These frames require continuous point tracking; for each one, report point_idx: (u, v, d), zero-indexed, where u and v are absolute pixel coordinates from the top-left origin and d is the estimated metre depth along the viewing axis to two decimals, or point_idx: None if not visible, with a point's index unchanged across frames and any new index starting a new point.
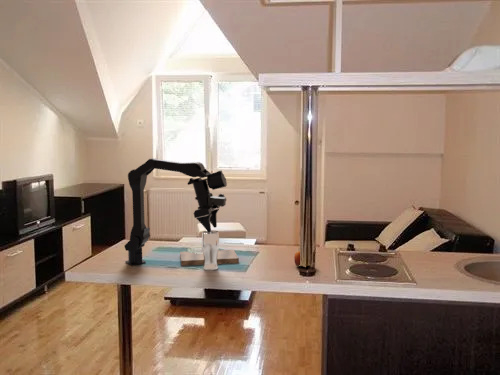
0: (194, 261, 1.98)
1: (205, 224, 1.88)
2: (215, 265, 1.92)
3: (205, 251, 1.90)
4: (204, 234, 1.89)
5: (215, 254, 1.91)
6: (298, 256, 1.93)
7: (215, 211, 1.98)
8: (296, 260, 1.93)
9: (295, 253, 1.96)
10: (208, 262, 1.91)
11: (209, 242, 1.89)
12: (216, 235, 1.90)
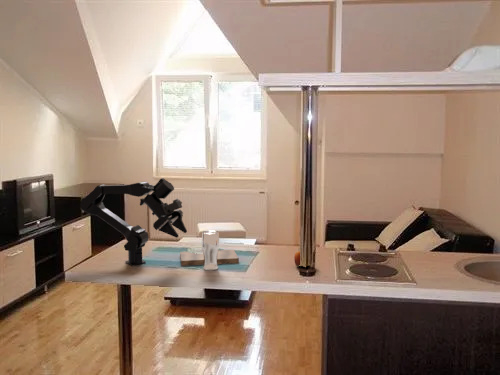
0: (194, 261, 1.98)
1: (170, 232, 1.90)
2: (215, 265, 1.92)
3: (205, 251, 1.90)
4: (204, 234, 1.89)
5: (215, 254, 1.91)
6: (298, 256, 1.93)
7: (179, 218, 2.00)
8: (296, 260, 1.93)
9: (295, 253, 1.96)
10: (208, 262, 1.91)
11: (209, 242, 1.89)
12: (216, 235, 1.90)
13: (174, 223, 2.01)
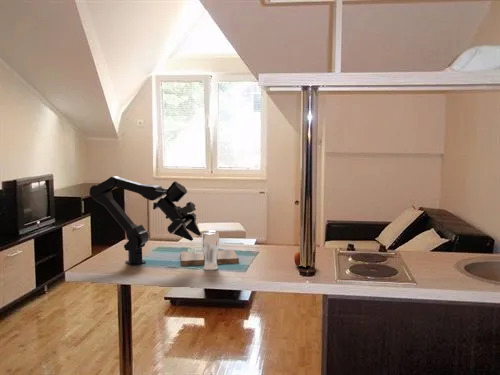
0: (194, 261, 1.98)
1: (184, 235, 1.88)
2: (215, 265, 1.92)
3: (205, 251, 1.90)
4: (204, 234, 1.89)
5: (215, 254, 1.91)
6: (298, 256, 1.93)
7: (192, 221, 1.98)
8: (296, 260, 1.93)
9: (295, 253, 1.96)
10: (208, 262, 1.91)
11: (209, 242, 1.89)
12: (216, 235, 1.90)
13: (188, 226, 1.99)
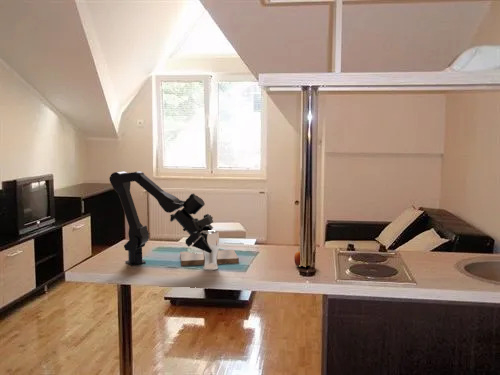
0: (194, 261, 1.98)
1: (203, 247, 1.88)
2: (215, 265, 1.92)
3: (205, 251, 1.90)
4: (204, 234, 1.89)
5: (215, 254, 1.91)
6: (298, 256, 1.93)
7: None
8: (296, 260, 1.93)
9: (295, 253, 1.96)
10: (208, 262, 1.91)
11: (209, 242, 1.89)
12: (216, 235, 1.90)
13: None
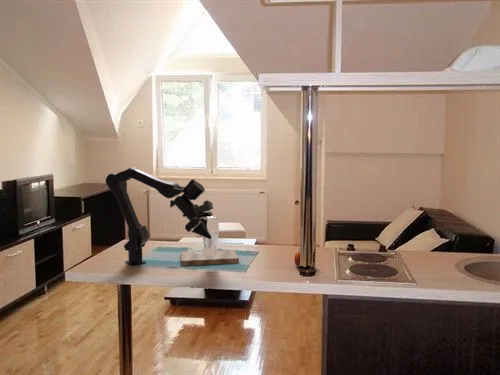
0: (194, 261, 1.98)
1: (203, 233, 1.88)
2: (215, 251, 1.91)
3: (205, 237, 1.89)
4: (204, 220, 1.89)
5: (215, 240, 1.90)
6: (298, 256, 1.93)
7: None
8: (296, 260, 1.93)
9: (295, 253, 1.96)
10: (208, 248, 1.90)
11: (208, 228, 1.88)
12: (216, 221, 1.89)
13: None
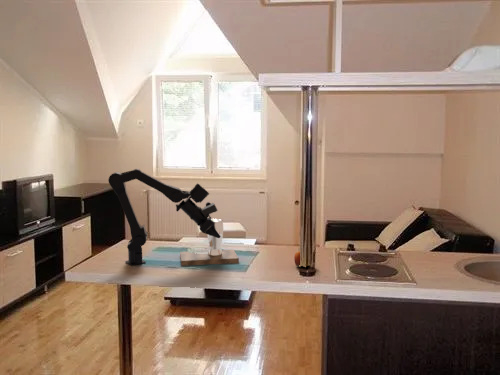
0: (194, 261, 1.98)
1: (213, 233, 2.00)
2: (221, 251, 2.06)
3: (213, 238, 2.03)
4: None
5: (221, 240, 2.06)
6: (298, 256, 1.93)
7: None
8: (296, 260, 1.93)
9: (295, 253, 1.96)
10: (215, 248, 2.04)
11: (217, 229, 2.03)
12: (222, 223, 2.05)
13: None
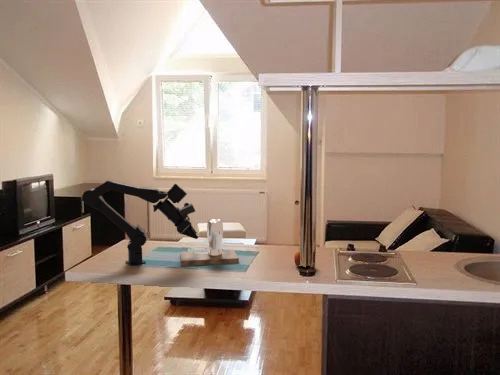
0: (194, 261, 1.98)
1: (190, 234, 1.98)
2: (221, 251, 2.06)
3: (213, 238, 2.03)
4: (212, 223, 2.02)
5: (221, 240, 2.06)
6: (298, 256, 1.93)
7: None
8: (296, 260, 1.93)
9: (295, 253, 1.96)
10: (215, 248, 2.04)
11: (217, 229, 2.03)
12: (222, 223, 2.05)
13: None
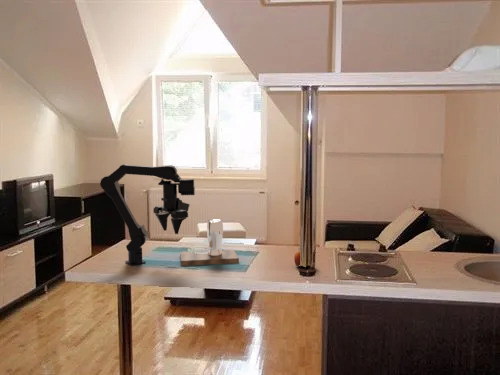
0: (194, 261, 1.98)
1: (176, 226, 1.96)
2: (221, 251, 2.06)
3: (213, 238, 2.03)
4: (212, 223, 2.03)
5: (221, 240, 2.06)
6: (298, 256, 1.93)
7: (167, 215, 2.05)
8: (296, 260, 1.93)
9: (295, 253, 1.96)
10: (215, 248, 2.04)
11: (217, 229, 2.03)
12: (222, 223, 2.05)
13: (161, 216, 2.03)
